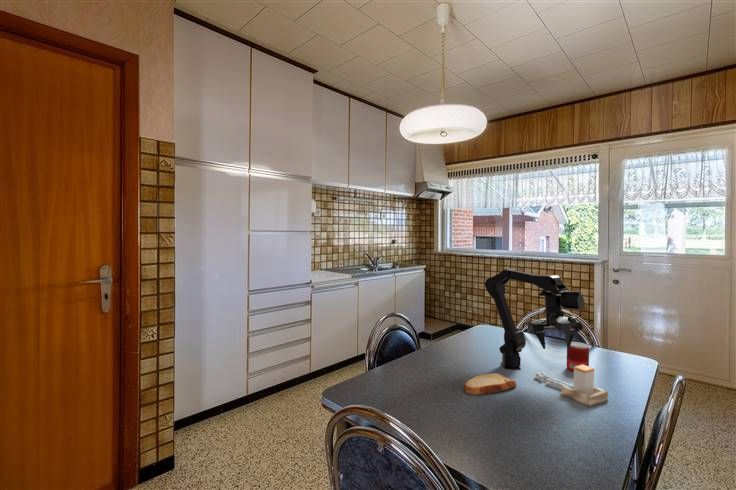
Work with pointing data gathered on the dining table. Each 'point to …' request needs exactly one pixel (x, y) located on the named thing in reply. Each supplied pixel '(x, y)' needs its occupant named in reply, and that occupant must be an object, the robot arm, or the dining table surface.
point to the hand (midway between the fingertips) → (556, 348)
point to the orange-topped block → (584, 379)
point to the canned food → (577, 355)
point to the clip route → (552, 381)
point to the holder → (585, 396)
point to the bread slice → (488, 384)
